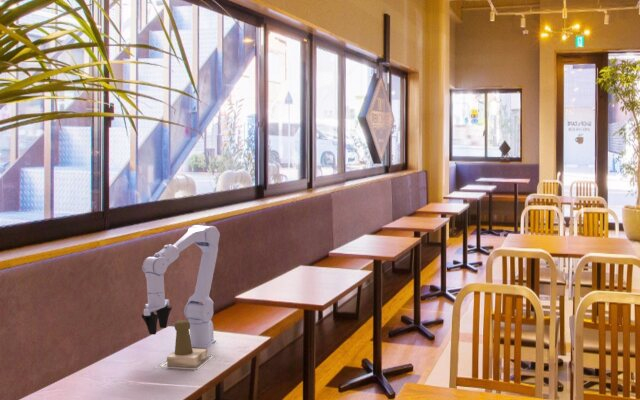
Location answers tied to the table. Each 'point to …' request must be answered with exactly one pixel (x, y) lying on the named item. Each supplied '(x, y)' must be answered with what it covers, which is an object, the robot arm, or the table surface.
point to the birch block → (187, 358)
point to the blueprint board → (164, 366)
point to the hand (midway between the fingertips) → (158, 330)
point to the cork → (183, 338)
